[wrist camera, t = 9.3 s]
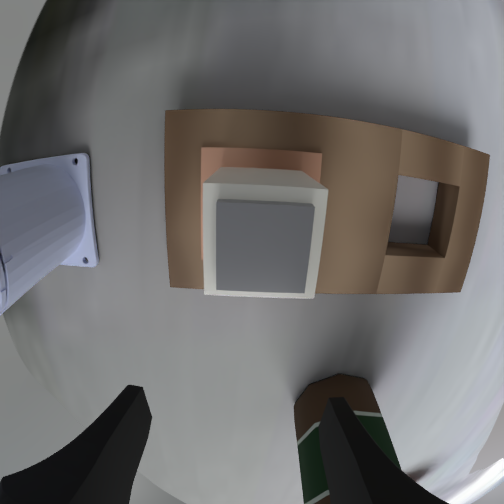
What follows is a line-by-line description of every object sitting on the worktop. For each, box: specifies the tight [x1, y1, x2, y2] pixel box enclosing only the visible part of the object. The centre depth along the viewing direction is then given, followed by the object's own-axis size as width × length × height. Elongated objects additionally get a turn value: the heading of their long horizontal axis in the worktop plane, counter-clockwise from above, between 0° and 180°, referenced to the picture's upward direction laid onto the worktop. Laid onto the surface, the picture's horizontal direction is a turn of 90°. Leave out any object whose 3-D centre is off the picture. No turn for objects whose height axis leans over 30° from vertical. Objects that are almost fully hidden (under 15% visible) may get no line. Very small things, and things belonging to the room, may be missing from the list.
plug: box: [203, 167, 328, 299], centre depth 12 cm, size 4×4×6 cm
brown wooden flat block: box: [165, 109, 490, 294], centre depth 16 cm, size 20×10×3 cm, turn 88°
